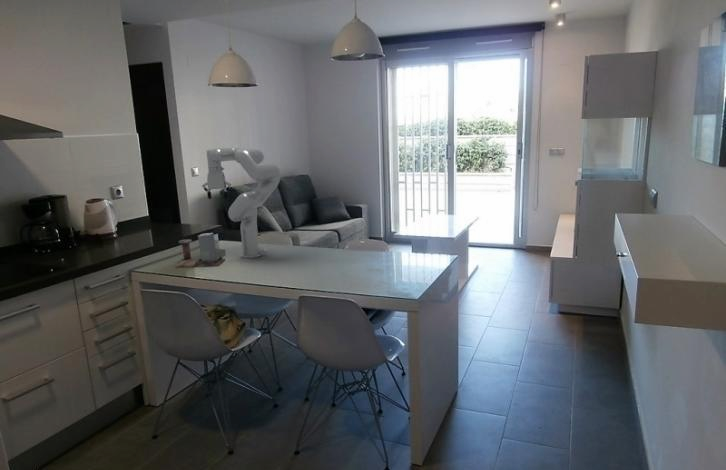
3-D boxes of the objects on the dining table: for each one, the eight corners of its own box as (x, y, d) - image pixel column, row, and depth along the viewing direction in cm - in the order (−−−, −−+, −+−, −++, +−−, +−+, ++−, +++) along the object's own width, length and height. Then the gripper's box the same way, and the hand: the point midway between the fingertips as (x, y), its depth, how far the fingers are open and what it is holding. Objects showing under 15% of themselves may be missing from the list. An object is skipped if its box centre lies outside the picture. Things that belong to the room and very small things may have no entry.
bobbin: (195, 258, 291) (193, 239, 289) (191, 262, 284) (188, 241, 282) (184, 259, 291) (181, 239, 289) (179, 262, 284) (176, 242, 282)
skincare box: (213, 263, 274) (209, 235, 271) (200, 263, 274) (197, 235, 271) (217, 259, 282) (214, 232, 279) (205, 259, 282) (202, 232, 279)
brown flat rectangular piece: (225, 260, 284) (224, 255, 283) (218, 266, 272) (218, 260, 272) (184, 262, 285) (183, 257, 284) (175, 267, 273) (174, 262, 273)
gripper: (231, 168, 297) (234, 197, 301) (202, 170, 298) (205, 198, 301) (227, 169, 290) (230, 198, 294) (198, 171, 290) (201, 199, 294)
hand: (218, 198), depth 298 cm, fingers open, 9 cm apart
